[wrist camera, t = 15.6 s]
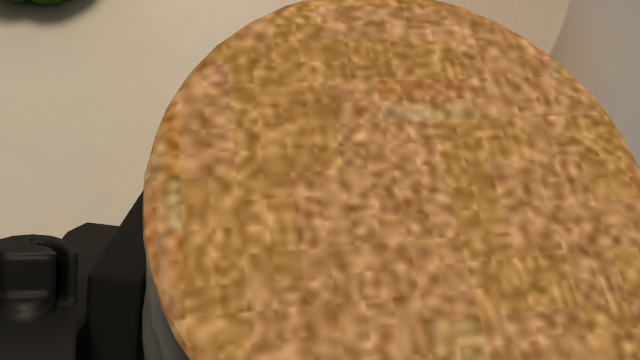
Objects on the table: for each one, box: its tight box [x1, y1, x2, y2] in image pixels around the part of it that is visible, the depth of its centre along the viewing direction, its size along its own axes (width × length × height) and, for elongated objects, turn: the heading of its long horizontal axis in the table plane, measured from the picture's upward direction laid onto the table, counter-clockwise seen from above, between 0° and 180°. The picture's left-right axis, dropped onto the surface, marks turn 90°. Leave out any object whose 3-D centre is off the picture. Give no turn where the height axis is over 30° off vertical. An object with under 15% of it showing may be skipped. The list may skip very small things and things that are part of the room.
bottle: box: [142, 0, 640, 360], centre depth 12 cm, size 6×6×15 cm
